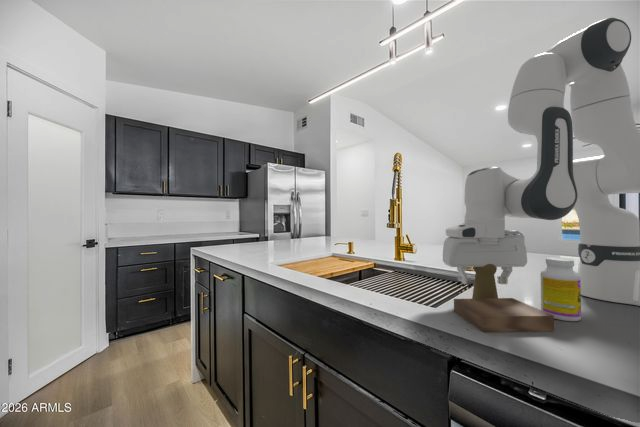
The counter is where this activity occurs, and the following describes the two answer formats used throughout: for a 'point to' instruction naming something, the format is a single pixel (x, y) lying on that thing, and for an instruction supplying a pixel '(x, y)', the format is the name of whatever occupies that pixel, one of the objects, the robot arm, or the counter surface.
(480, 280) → the cork
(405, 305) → the counter surface
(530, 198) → the robot arm
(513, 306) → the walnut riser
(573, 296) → the supplement bottle
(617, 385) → the counter surface
